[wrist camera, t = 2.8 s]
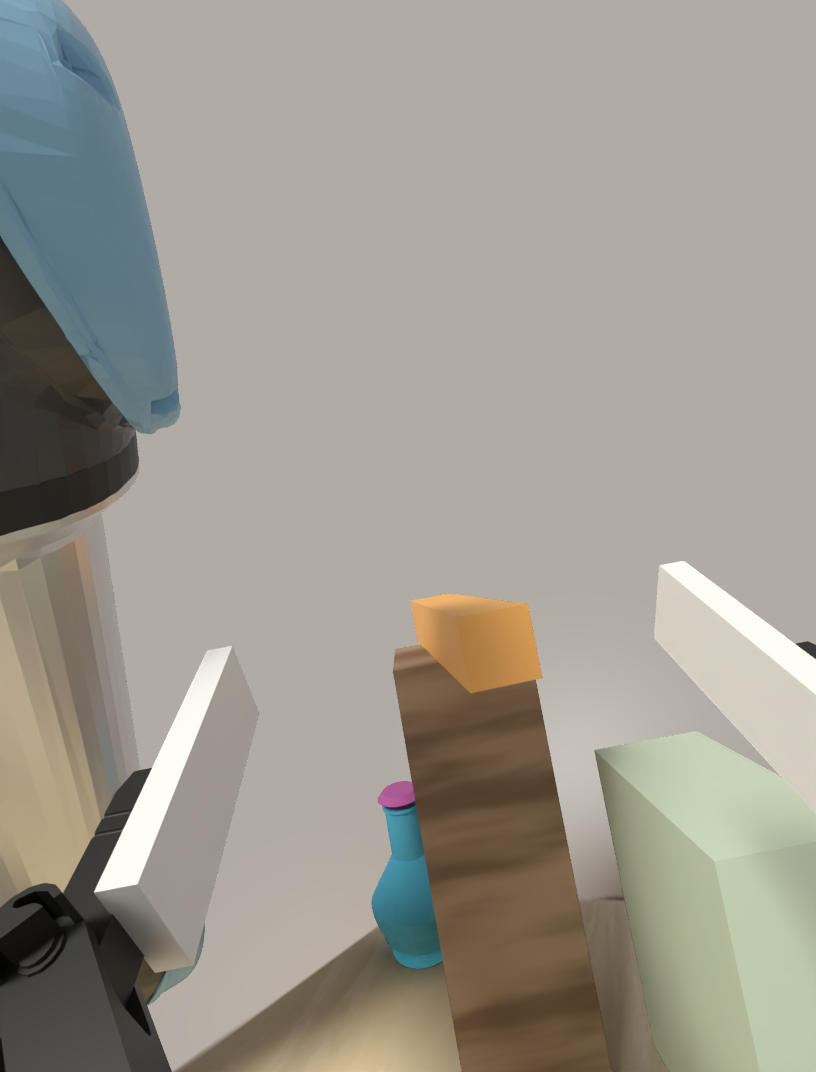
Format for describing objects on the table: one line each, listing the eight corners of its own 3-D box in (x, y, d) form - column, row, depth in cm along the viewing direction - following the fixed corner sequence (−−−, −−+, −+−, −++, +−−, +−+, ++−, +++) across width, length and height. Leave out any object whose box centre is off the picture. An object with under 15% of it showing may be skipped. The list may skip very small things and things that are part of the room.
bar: (542, 677, 25) (528, 603, 26) (470, 693, 25) (456, 617, 25) (456, 633, 47) (449, 593, 47) (417, 641, 47) (410, 600, 47)
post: (615, 1089, 32) (529, 646, 34) (470, 1119, 32) (393, 671, 34) (565, 967, 42) (500, 629, 44) (454, 989, 42) (395, 649, 44)
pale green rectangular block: (998, 1321, 21) (878, 829, 22) (822, 1360, 21) (714, 861, 22) (759, 1021, 35) (696, 730, 36) (653, 1042, 35) (594, 750, 36)
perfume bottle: (362, 946, 49) (338, 796, 50) (429, 895, 54) (406, 762, 56) (417, 999, 41) (388, 823, 43) (488, 935, 47) (461, 781, 48)
